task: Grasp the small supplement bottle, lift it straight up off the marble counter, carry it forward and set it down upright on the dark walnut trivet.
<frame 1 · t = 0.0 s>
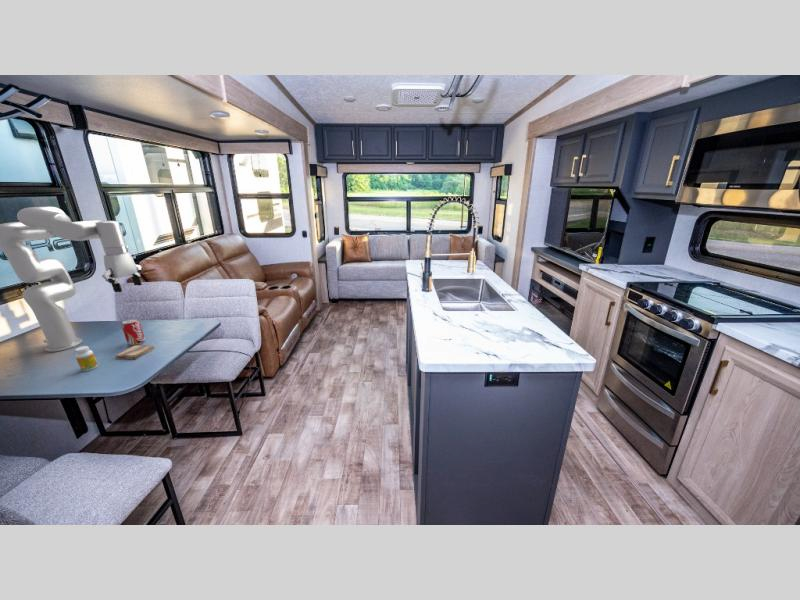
hand: (128, 288, 137), 31 cm above the table, fingers open, 9 cm apart
soda can: (137, 343, 154), on the table
supplement bottle: (90, 368, 133), on the table
trivet: (135, 353, 144), on the table
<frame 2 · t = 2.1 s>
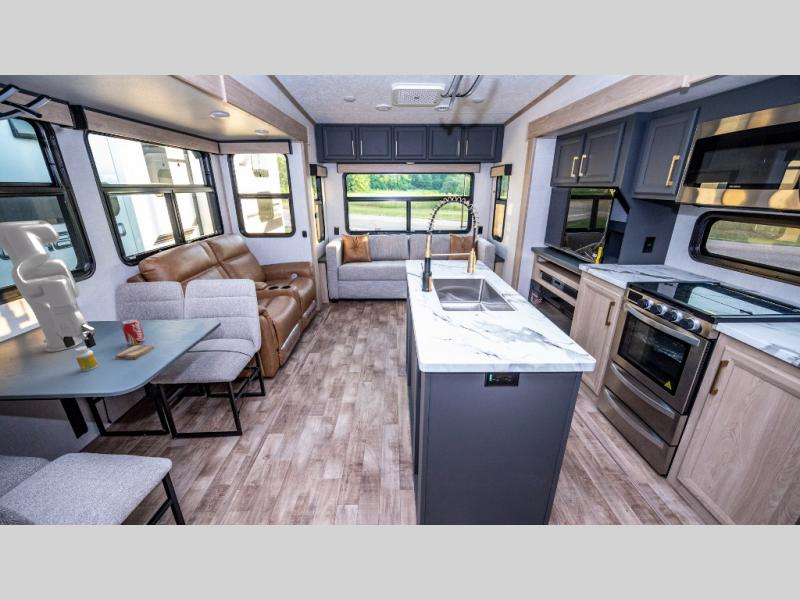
hand: (81, 346, 129), 11 cm above the table, fingers open, 9 cm apart
nothing on the table moved.
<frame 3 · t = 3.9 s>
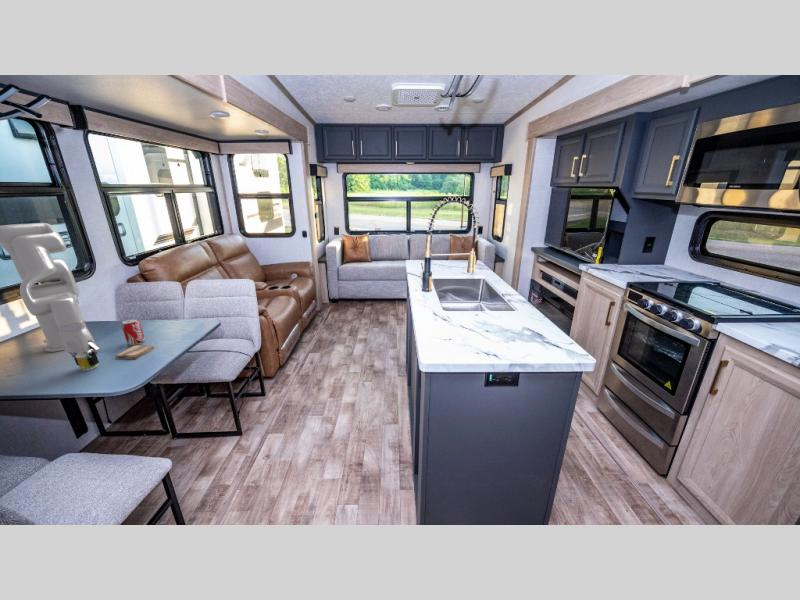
hand: (88, 363, 132), 2 cm above the table, fingers closed on supplement bottle, 5 cm apart
supplement bottle: (89, 368, 133), on the table, touching gripper
everything else where it was.
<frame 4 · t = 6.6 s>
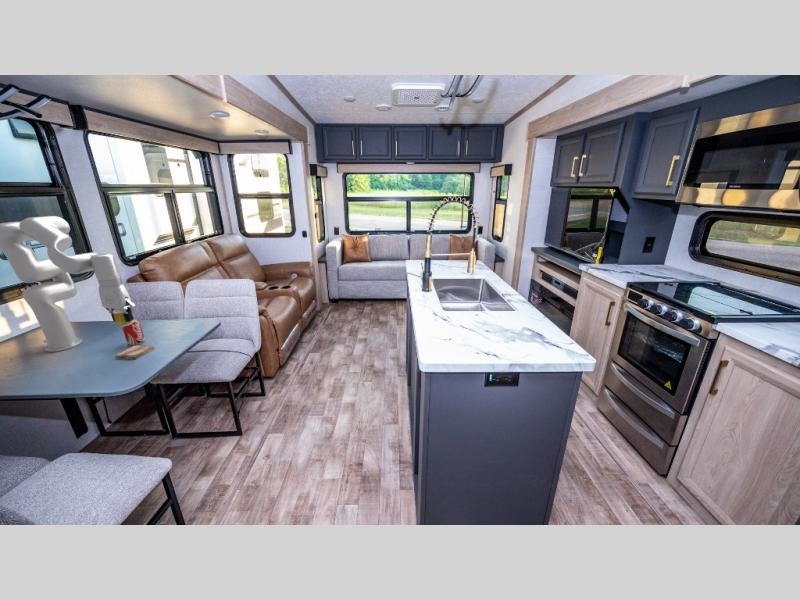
hand: (123, 320, 138), 17 cm above the table, fingers closed on supplement bottle, 5 cm apart
supplement bottle: (125, 324, 139), point 15 cm above the table, touching gripper
everything else where it was.
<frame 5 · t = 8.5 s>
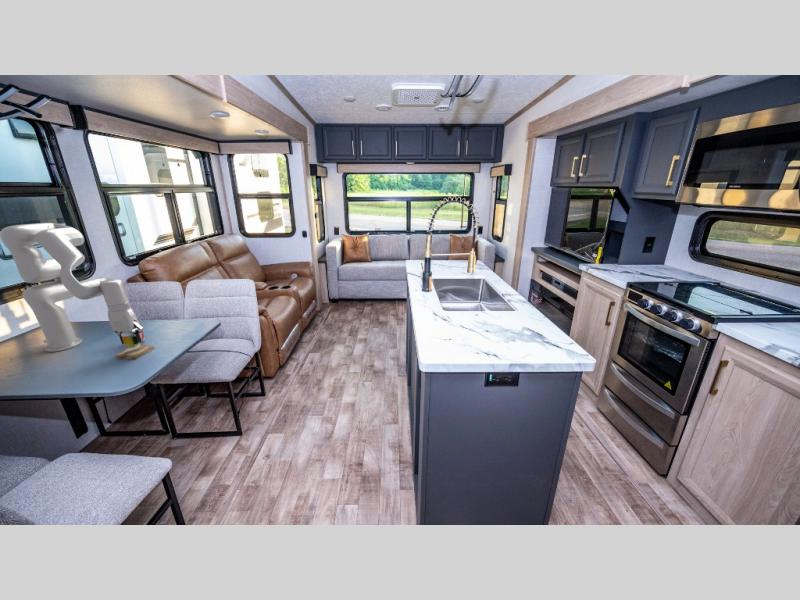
hand: (131, 342, 142), 6 cm above the table, fingers closed on supplement bottle, 5 cm apart
supplement bottle: (133, 346, 143), point 4 cm above the table, touching gripper
everything else where it was.
when the fingers open (4 cm above the table, at t = 9.7 s): supplement bottle stays where it is, resting on trivet.
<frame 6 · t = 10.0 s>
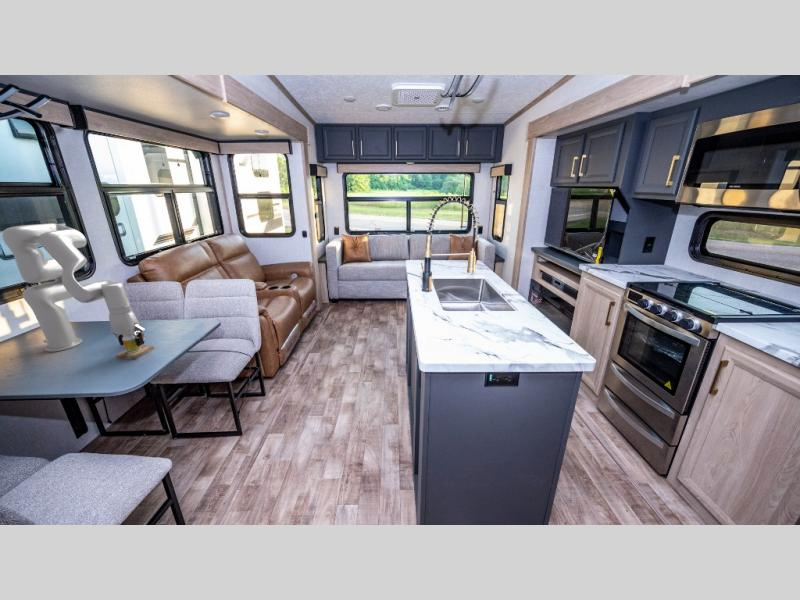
hand: (132, 344, 142), 5 cm above the table, fingers open, 7 cm apart
supplement bottle: (134, 350, 144), point 1 cm above the table, touching trivet
everything else where it was.
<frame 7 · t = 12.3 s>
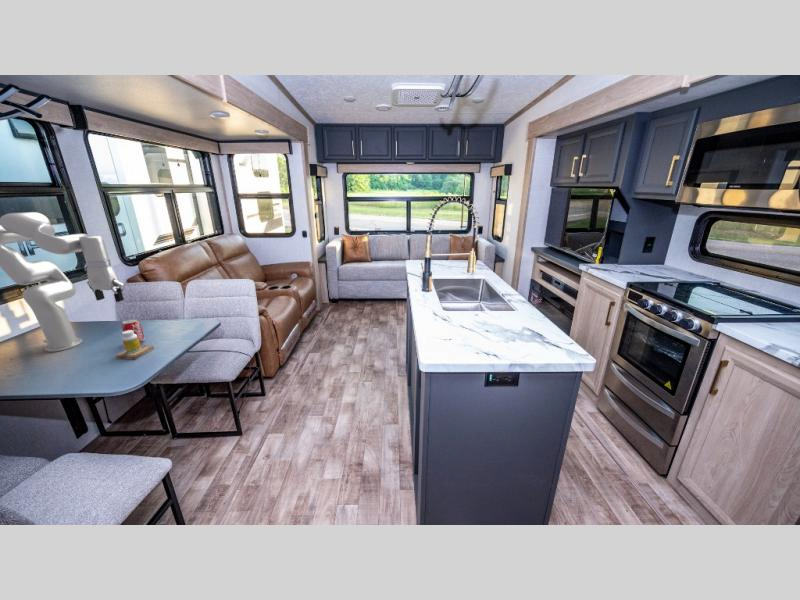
hand: (110, 300, 140), 25 cm above the table, fingers open, 9 cm apart
nothing on the table moved.
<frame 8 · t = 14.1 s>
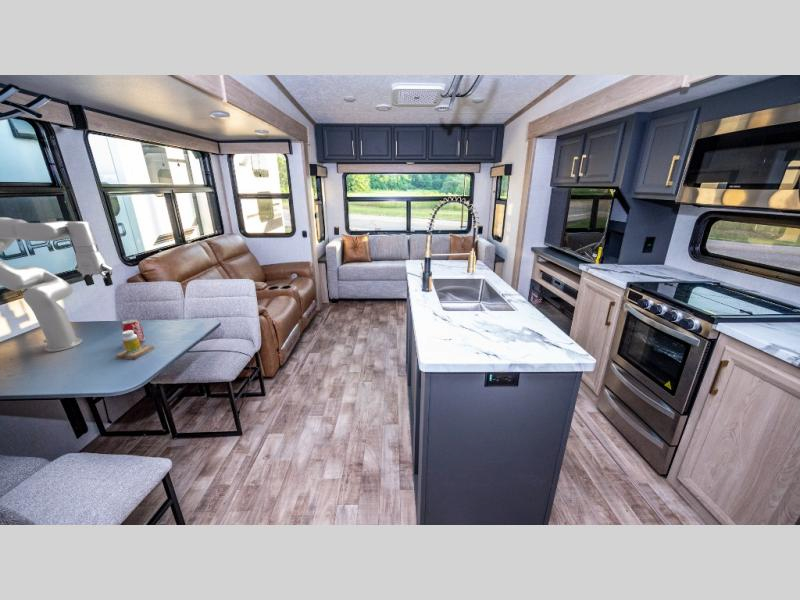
hand: (100, 285, 144), 30 cm above the table, fingers open, 9 cm apart
nothing on the table moved.
at the end: supplement bottle inside the target area on the trivet (0.2 cm from its centre), point 1.4 cm above the trivet's base; supplement bottle tilted 0°; the gripper is holding nothing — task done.
